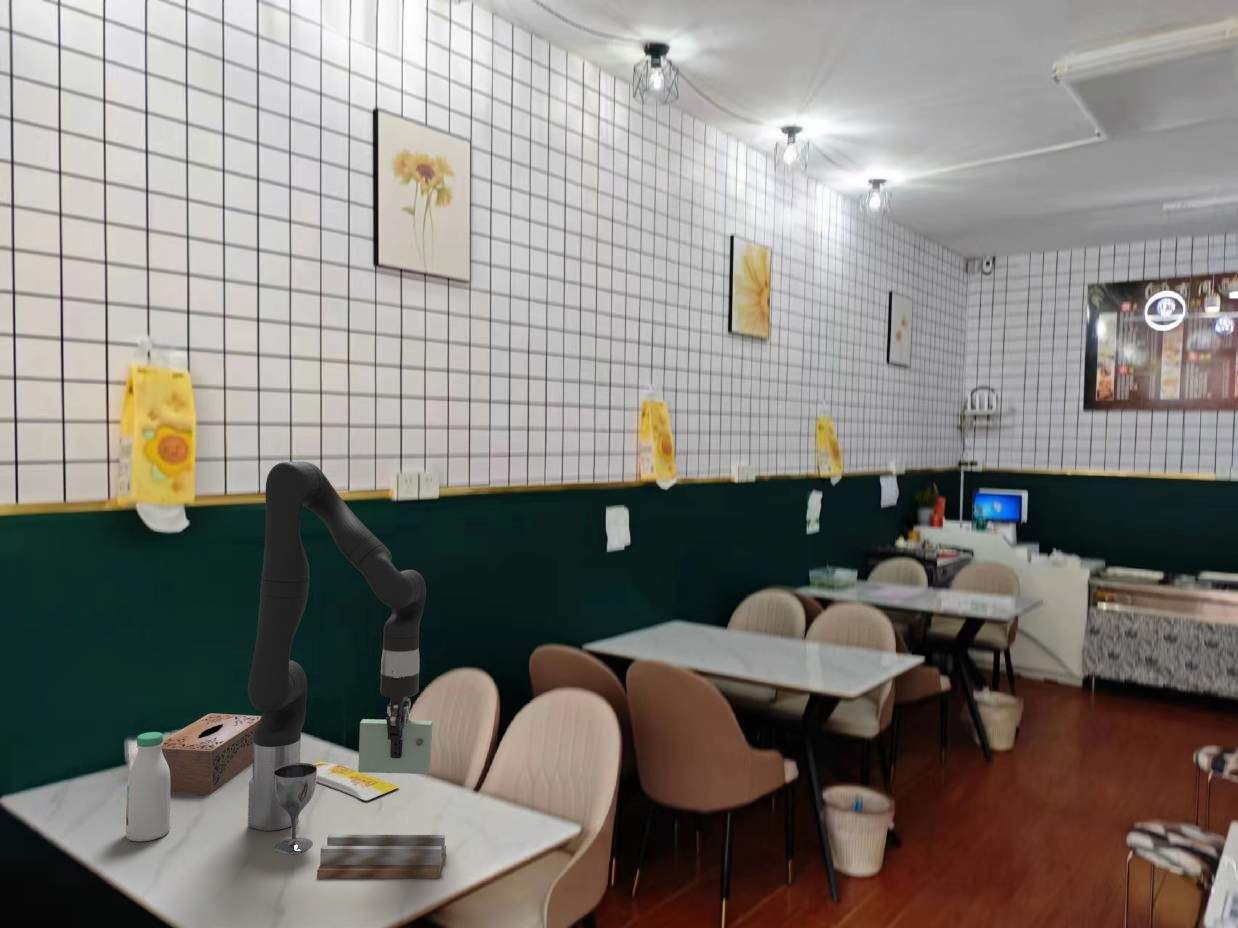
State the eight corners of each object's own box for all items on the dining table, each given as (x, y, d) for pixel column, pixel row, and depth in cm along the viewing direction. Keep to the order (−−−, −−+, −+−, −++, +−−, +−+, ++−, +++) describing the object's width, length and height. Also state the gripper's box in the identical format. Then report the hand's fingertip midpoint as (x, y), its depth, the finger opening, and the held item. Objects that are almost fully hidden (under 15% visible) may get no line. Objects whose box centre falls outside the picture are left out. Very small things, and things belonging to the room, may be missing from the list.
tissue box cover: (210, 795, 198) (211, 751, 197) (148, 791, 198) (149, 747, 198) (264, 755, 223) (265, 716, 223) (208, 752, 224) (209, 713, 224)
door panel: (357, 773, 177) (359, 724, 176) (360, 768, 180) (362, 719, 180) (428, 775, 177) (430, 725, 177) (430, 769, 181) (432, 720, 180)
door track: (316, 878, 162) (317, 853, 161) (331, 852, 172) (331, 829, 171) (438, 878, 163) (439, 854, 163) (445, 853, 173) (446, 830, 173)
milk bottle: (178, 829, 179) (180, 731, 179) (146, 845, 172) (149, 743, 172) (148, 823, 182) (151, 726, 182) (116, 838, 175) (118, 738, 174)
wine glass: (289, 859, 169) (291, 780, 168) (263, 847, 173) (265, 771, 172) (323, 843, 175) (325, 768, 175) (297, 833, 180) (299, 760, 179)
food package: (400, 782, 204) (366, 795, 196) (400, 791, 204) (366, 806, 196) (322, 756, 219) (287, 768, 210) (322, 765, 219) (287, 777, 210)
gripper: (388, 661, 185) (385, 743, 186) (374, 678, 171) (371, 767, 172) (424, 662, 186) (421, 744, 186) (413, 679, 172) (410, 768, 172)
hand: (397, 754), depth 179 cm, fingers closed on door panel, 2 cm apart
